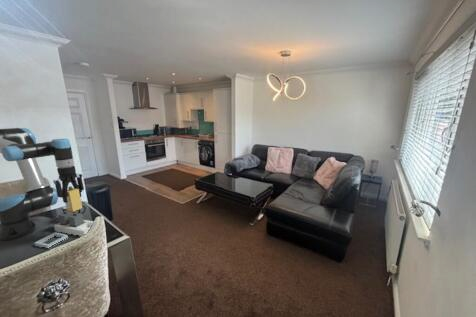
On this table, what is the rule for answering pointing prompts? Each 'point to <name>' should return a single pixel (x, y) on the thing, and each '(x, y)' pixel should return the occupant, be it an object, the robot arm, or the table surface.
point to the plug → (74, 199)
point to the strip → (74, 230)
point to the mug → (74, 211)
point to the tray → (40, 242)
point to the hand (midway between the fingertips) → (74, 204)
